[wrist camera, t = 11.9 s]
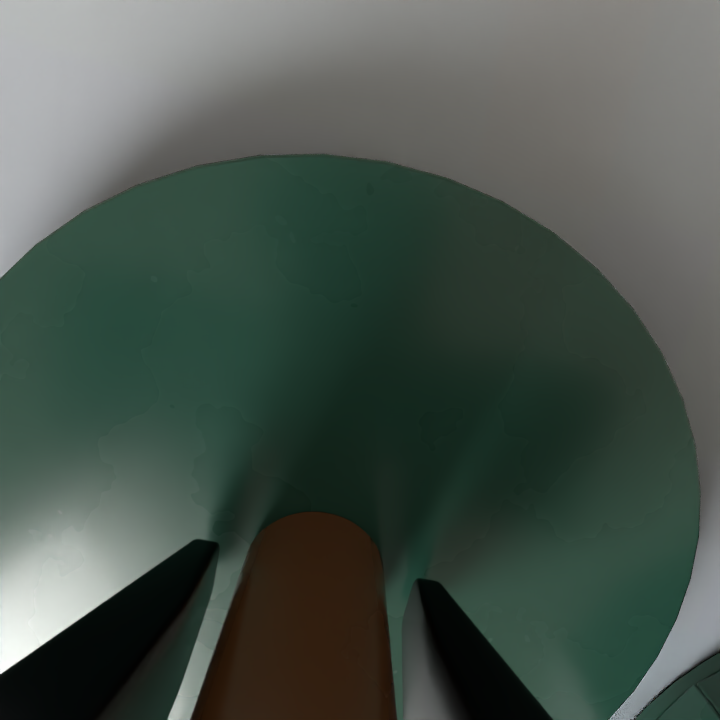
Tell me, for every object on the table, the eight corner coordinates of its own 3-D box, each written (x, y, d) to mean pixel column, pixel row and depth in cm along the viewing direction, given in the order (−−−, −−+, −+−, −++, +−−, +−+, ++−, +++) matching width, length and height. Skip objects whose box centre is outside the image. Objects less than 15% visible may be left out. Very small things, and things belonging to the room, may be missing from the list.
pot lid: (674, 721, 10) (969, 1161, 5) (115, 821, 11) (-81, 1300, 6) (637, 75, 7) (1334, -334, 2) (-169, 269, 8) (-1170, 323, 3)
